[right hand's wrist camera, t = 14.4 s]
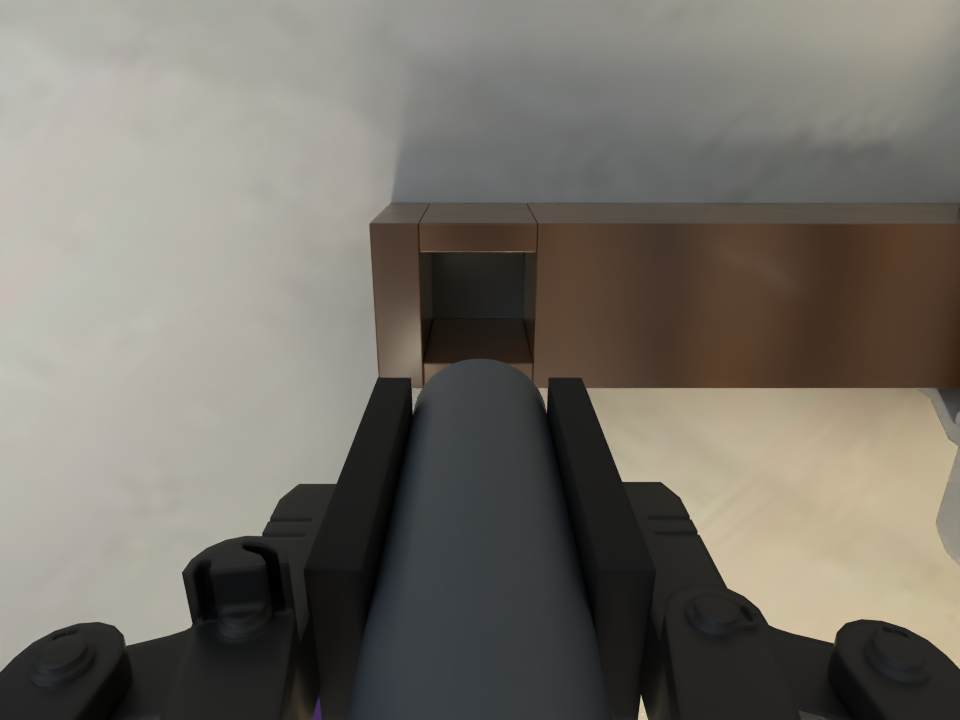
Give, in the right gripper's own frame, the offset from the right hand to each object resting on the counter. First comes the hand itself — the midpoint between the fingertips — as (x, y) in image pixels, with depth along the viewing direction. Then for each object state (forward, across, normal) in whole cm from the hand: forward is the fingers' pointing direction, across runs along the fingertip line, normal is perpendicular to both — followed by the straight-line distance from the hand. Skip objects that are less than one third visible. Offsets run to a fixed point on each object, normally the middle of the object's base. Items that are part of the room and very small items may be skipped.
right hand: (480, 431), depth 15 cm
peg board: (+16, -10, 0) cm, 19 cm away
